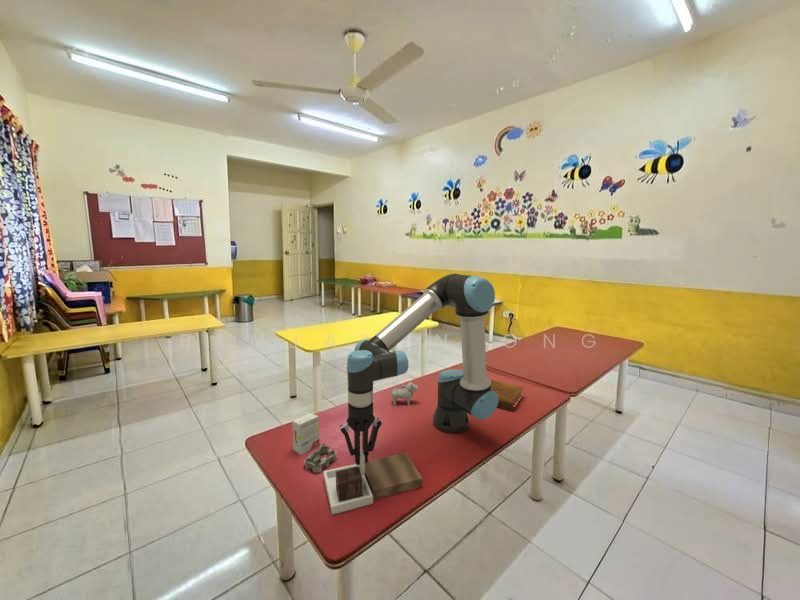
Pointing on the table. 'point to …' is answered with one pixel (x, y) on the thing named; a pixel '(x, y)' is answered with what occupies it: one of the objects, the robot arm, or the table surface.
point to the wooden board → (391, 475)
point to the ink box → (305, 433)
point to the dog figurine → (404, 392)
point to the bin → (349, 503)
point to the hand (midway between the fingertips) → (361, 472)
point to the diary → (506, 394)
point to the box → (349, 483)
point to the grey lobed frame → (317, 460)
